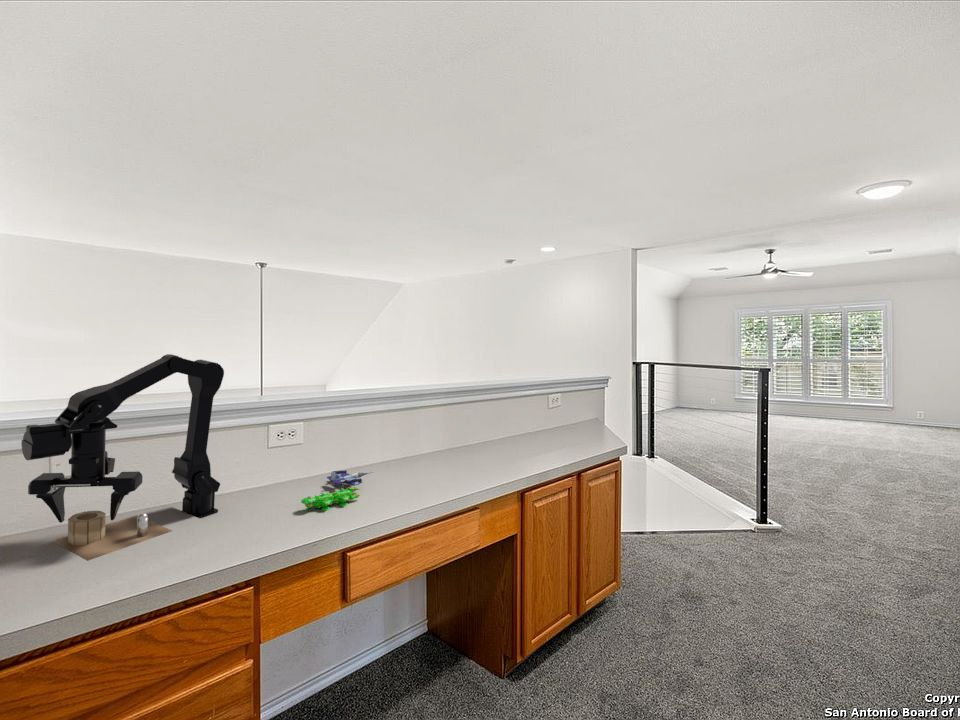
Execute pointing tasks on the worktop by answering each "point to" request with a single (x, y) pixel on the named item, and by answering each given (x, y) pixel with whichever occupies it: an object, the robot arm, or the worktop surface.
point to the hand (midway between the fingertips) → (87, 520)
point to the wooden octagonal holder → (86, 527)
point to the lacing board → (114, 538)
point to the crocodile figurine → (330, 499)
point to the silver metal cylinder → (142, 525)
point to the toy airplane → (346, 478)
